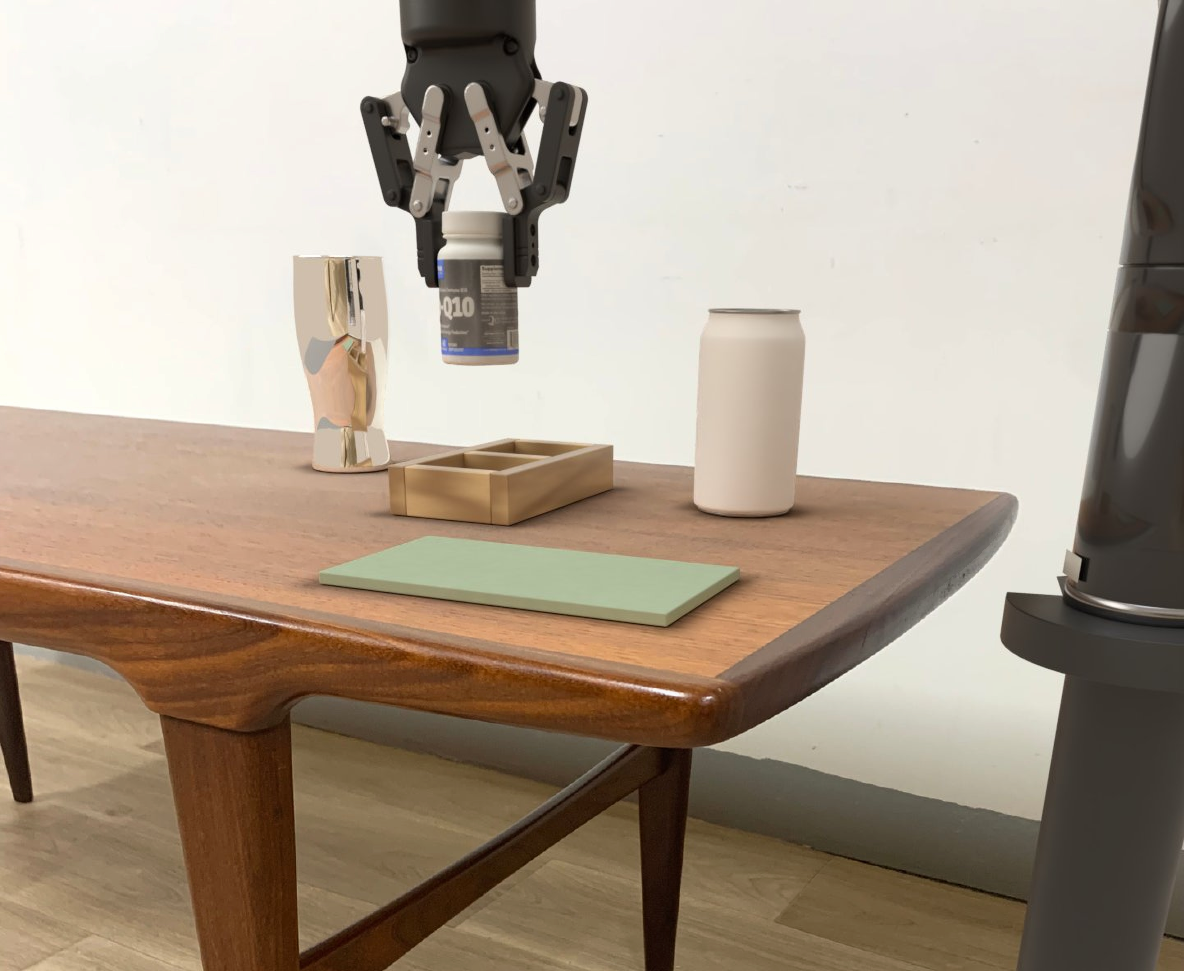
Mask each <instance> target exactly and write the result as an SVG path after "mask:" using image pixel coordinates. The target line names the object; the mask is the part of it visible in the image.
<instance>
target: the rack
mask: <svg viewBox="0 0 1184 971" xmlns="http://www.w3.org/2000/svg"><path fill="white" fill-rule="evenodd" d="M387 475H388V492H389V493H388V494H389V509H390V510H389V511H390V512H389V513H390V514H391V515H393V516H394V515H396V516H405V517H406V516H408V517H417V518H427V519H437V520H445V521H446V520H447V521H456V522H458V521H459V522H467V523H477V524H489V525H491V524H492V525H498V526H507V527H508V526H511V525H514V524H517V523H520V522H523V521H526V520H528V519H531V518H534V517H536V516H539V515H542V514H545V513H547V512H550V511H553V510H557V509H559V508H562V507H564V506H567V505H571V504H574V503H575V502H579V501H582V500H585V499H588V498H589V497H593V496H596V495H598V494H601V493H604V492H606V491H609V490H612V489H613V488H614V444H607V443H606V444H604V443H589V442H576V441H574V442H573V441H561V440H560V441H559V440H544V439H529V438H513V437H512V438H511V437H508V438H507V437H506V438H502V439H498V440H493V441H490V442H485V443H480V444H477V445H473V446H472V445H471V446H467V447H463V448H459V449H455V450H450V451H446V452H441V453H436V454H432V455H428V456H423V457H419V458H414V459H410V460H406V461H402V462H397V463H392V465H389V466H388V469H387Z"/></svg>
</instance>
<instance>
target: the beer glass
mask: <svg viewBox="0 0 1184 971" xmlns="http://www.w3.org/2000/svg"><path fill="white" fill-rule="evenodd" d="M291 257H292V303H293V319H294V328H295V338H296V342H297V347H298V353H299V357H300V361H301V366H302V369H303V372H304V373H303V374H304V378H305V382H306V385H307V389H308V394H309V400H310V403H311V409H312V415H313V416H312V417H313V430H314V432H313V446H312V454H311V467H312V468H313V469H314V470H316V471H321V472H325V473H326V472H328V473H341V474H342V473H343V474H344V473H346V474H348V473H349V474H353V473H354V474H355V473H370V472H372V473H373V472H378V471H383V470H388V466H389V465H392V464H393V462H392V456H391V453H390V447H389V444H388V443H389V442H388V438H387V433H386V426H385V397H386V387H387V379H388V370H389V359H390V348H391V314H390V301H389V292H388V284H387V276H386V270H385V258H384V256H380V255H379V256H378V255H377V256H376V255H331V254H330V255H324V254H323V255H321V254H320V255H316V254H312V255H311V254H309V255H308V254H307V255H306V254H303V255H302V254H301V255H300V254H297V255H292V256H291Z"/></svg>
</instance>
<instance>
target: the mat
mask: <svg viewBox="0 0 1184 971" xmlns="http://www.w3.org/2000/svg"><path fill="white" fill-rule="evenodd" d="M740 573H741V568H740V567H738V566H728V565H720V564H719V565H717V564H708V563H699V562H691V561H690V562H688V561H679V560H669V559H660V558H652V557H640V556H630V555H621V554H613V553H611V554H610V553H602V552H591V551H582V550H571V549H564V548H553V547H544V546H536V545H535V546H533V545H523V544H513V543H505V542H494V541H487V540H486V541H484V540H477V539H476V540H475V539H468V538H467V539H465V538H458V537H457V538H455V537H446V536H437V535H425V536H422V537H419V538H417V539H414V540H413V539H412V540H410V541H408V542H405V543H401V544H399V545H396V546H393V547H390V548H386V549H383V550H380V551H378V552H374V553H371V554H368V555H365V556H362V557H360V558H359V557H358V558H356V559H353V560H351V561H350V560H349V561H348V562H345V563H342V564H338V565H335V566H332V567H328V568H326V569H322V570H320V571H319V572H318V580H319V581H318V582H319V584H320V585H328V586H335V587H344V588H352V589H353V588H354V589H360V590H361V589H362V590H369V591H377V592H384V593H393V594H401V595H409V596H416V597H424V598H433V599H441V600H448V601H457V602H463V603H464V602H465V603H472V604H480V605H489V606H497V607H505V608H511V609H512V608H513V609H521V610H529V611H536V612H537V611H538V612H545V613H552V614H553V613H554V614H561V615H567V616H577V617H584V618H585V617H586V618H591V619H592V618H593V619H599V620H608V621H609V620H610V621H617V622H624V623H633V624H640V625H641V624H642V625H649V626H657V627H665V628H666V627H668V626H669V625H671V624H673V623H675V621H677V620H679V619H680V618H682V617H684V616H685V615H686V614H688V613H690V612H691V611H693V610H694V609H696V608H697V607H699V606H700V605H702V604H704V603H705V602H706V601H708V600H710V599H711V598H713V597H714V596H715V595H718V593H720V592H722V591H724V590H725V589H726V588H727V587H729V586H732V584H734V583H736V582H737V581H739V579H740Z"/></svg>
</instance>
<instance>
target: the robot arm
mask: <svg viewBox="0 0 1184 971" xmlns="http://www.w3.org/2000/svg"><path fill="white" fill-rule="evenodd" d="M398 3H399V5H398V6H399V23H400V24H399V25H400V38H401V41H402V45H403V49H404V52H405V57H406V63H405V70H404V74H403V76H402V79H401V82H400V88H399V89H396V90H394V91H392V92H389V93H387V94H385V95H383V96H380V97H378V96H371V95H366V96H364V97H363V98H362V99H361V101H360V105H359V111H360V115H361V118H362V122H363V127H364V130H365V134H366V138H367V142H368V145H369V149H370V153H371V156H372V160H373V164H374V168H375V172H376V176H377V181H378V183H379V187H380V191H381V195H382V198H383V202H384V203H385V205H387V206H388V207H390V208H398V209H400V210H402V211H404V212H407V213H409V215H411V217H412V218H413V220H414V224H415V240H416V257H417V270H418V273H419V276H420V278H424V283H425V286H426V287H427V288H429V289H439V281H438V253H439V251H440V250H441V248H443V247H444V246H446V244H447V239H445V238H443V235H444V234H443V233H442V212H444V211H449V208H450V203H451V199H452V194H453V191H454V186H455V183H456V181H458V180H459V178H460V177H461V174H462V170H463V165H464V161H465V160H472V159H474V158H477V157H484V159H485V162H486V166H487V169H488V171H489V172H490V174H491V175H492V176H493V177H494V179H495V182H496V186H497V188H498V191H499V195H500V198H501V201H502V204H503V207H504V210H505V213H508V217H502V228H503V263H504V282H505V285H506V287H508V288H517V289H519V288H530V287H531V285H532V281H533V280H532V279H533V278H532V277H537V275H538V271H539V268H540V253H539V252H540V250H539V247H540V246H539V245H540V244H539V220H540V216H541V215H542V213H543V212H544V211H545V210H547V209H550V208H551V207H553V206H555V205H563V204H564V203H565V202H566V201H567V200H568V199H569V196H570V193H571V188H572V182H573V178H574V172H575V167H576V162H577V158H578V153H579V147H580V142H581V138H582V133H583V128H584V124H585V117H586V113H587V108H588V103H589V95H588V93H587V91H586V90H585V88H583V87H580V86H577V85H574V84H571V83H568V82H564V81H556V82H552V81H549V80H548V81H547V80H544V79H543V76H542V74H541V71H540V69H539V67H538V65H537V61H536V56H535V49H536V43H537V0H398ZM537 105H538V108H539V109H538V116H539V120H540V121H541V123H542V124H543V126H542V130H541V136H540V141H539V146H538V147H539V148H538V152H537V156H536V162H535V165H534V161H533V158H532V154H531V151H530V148H529V144H528V140H527V136H526V134H525V131H524V129H525V127H526V126H527V123H528V122H529V121H530V118H531V116H532V114H533V112H534V110H535V108H536V107H537ZM409 115H411V116H412V118H413V119H414V121H415V123H416V124H417V126H418V128H419V134H418V138H417V142H416V148H415V152H414V157H413V156H412V151H411V148H410V144H409V139H408V136H407V133H408V131H409V130H410V129H411V122H409ZM439 155H440V157H439ZM534 168H535V169H534ZM533 171H534V172H533ZM1120 246H1121V247H1120V251H1119V252H1120V253H1119V259H1118V266H1119V267H1117V271H1116V278H1115V284H1114V290H1113V291H1114V292H1113V295H1112V301H1111V302H1112V303H1111V308H1110V315H1109V322H1108V328H1107V329H1108V330H1107V334H1106V340H1105V344H1104V353H1103V358H1102V364H1101V371H1100V375H1099V376H1100V377H1099V383H1098V388H1097V389H1098V390H1097V396H1096V402H1095V408H1094V414H1093V421H1092V426H1091V432H1090V439H1089V445H1088V451H1087V458H1086V464H1085V470H1084V477H1083V482H1082V487H1081V488H1082V489H1081V493H1080V494H1081V496H1080V501H1079V508H1078V513H1077V518H1076V525H1075V532H1074V539H1073V544H1072V551H1070V550H1069V549H1068V548H1066V550H1065V555H1064V560H1063V561H1064V562H1063V567H1062V574H1064V576H1068V578H1067V579H1066V582H1065V588H1064V594H1063V595H1062V596H1063V600H1064V601H1065V603H1067V604H1068V605H1069V606H1071V607H1073V608H1075V609H1077V610H1079V611H1082V612H1085V613H1087V614H1090V615H1094V616H1097V617H1101V618H1105V619H1110V620H1114V621H1119V622H1125V623H1131V624H1138V625H1145V626H1155V627H1166V628H1184V0H1157V17H1156V22H1155V28H1154V35H1153V41H1152V48H1151V55H1150V61H1149V67H1148V74H1147V79H1146V86H1145V91H1144V98H1143V106H1142V112H1141V119H1140V125H1139V132H1138V137H1137V144H1136V150H1135V156H1134V162H1133V166H1132V172H1131V178H1130V184H1129V190H1128V197H1127V203H1126V210H1125V218H1124V224H1123V233H1122V239H1121V245H1120Z"/></svg>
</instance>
